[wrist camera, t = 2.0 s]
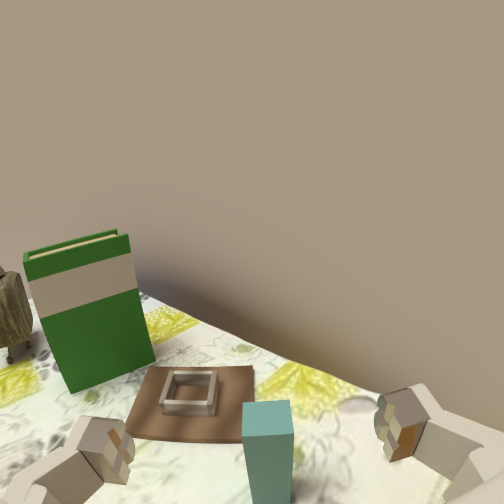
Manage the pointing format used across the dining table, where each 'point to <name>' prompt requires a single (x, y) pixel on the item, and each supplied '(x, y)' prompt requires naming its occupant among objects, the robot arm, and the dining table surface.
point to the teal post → (268, 450)
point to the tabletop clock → (14, 312)
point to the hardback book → (90, 308)
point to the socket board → (191, 404)
